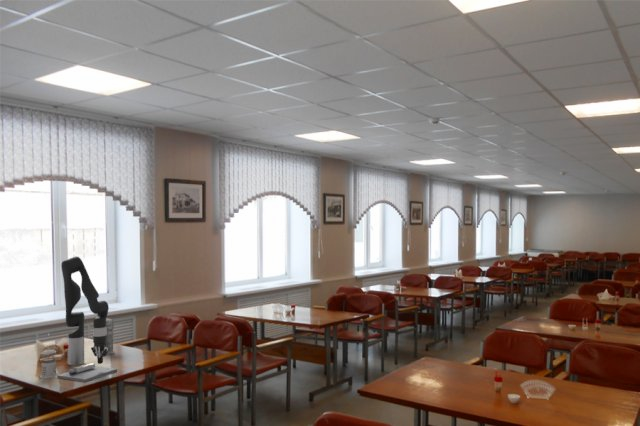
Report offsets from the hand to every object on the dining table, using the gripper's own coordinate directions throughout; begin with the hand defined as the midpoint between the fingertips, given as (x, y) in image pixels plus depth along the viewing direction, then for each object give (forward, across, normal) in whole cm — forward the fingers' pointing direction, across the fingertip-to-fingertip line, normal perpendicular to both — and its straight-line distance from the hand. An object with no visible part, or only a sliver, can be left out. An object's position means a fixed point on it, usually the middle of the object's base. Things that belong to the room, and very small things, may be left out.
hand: (100, 363), depth 303 cm
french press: (+6, -26, -14) cm, 30 cm away
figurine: (+7, -36, +38) cm, 53 cm away
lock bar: (+4, -9, -6) cm, 11 cm away
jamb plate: (+6, -5, -5) cm, 9 cm away
